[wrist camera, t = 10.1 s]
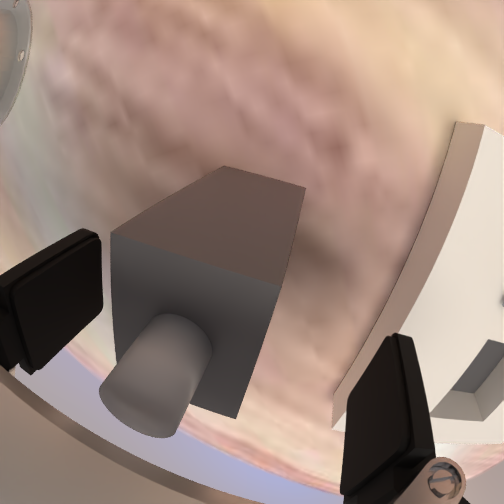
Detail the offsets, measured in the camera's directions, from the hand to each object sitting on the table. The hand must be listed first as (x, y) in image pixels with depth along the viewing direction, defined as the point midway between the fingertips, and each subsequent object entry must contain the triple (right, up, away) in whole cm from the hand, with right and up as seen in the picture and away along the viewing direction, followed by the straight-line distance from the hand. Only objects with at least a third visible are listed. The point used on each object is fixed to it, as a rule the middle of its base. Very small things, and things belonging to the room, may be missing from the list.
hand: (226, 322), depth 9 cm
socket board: (+16, -2, +5) cm, 17 cm away
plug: (+1, +3, +6) cm, 7 cm away
